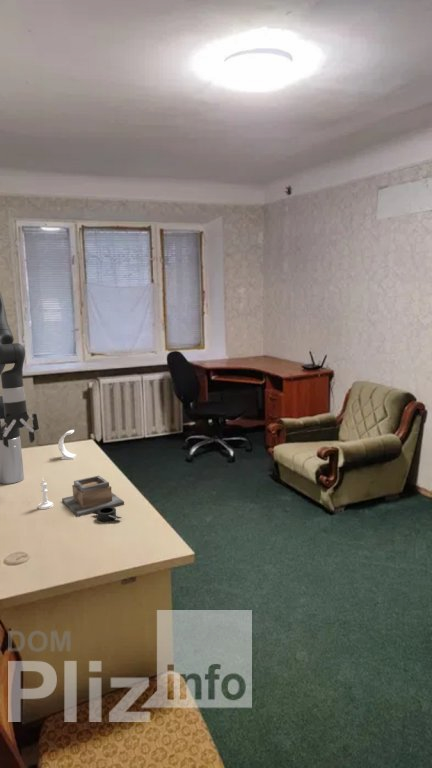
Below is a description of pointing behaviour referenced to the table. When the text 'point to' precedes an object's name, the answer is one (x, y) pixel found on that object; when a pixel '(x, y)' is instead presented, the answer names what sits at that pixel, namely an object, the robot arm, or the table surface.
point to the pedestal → (91, 496)
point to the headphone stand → (62, 449)
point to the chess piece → (44, 497)
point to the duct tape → (106, 514)
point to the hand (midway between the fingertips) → (19, 444)
